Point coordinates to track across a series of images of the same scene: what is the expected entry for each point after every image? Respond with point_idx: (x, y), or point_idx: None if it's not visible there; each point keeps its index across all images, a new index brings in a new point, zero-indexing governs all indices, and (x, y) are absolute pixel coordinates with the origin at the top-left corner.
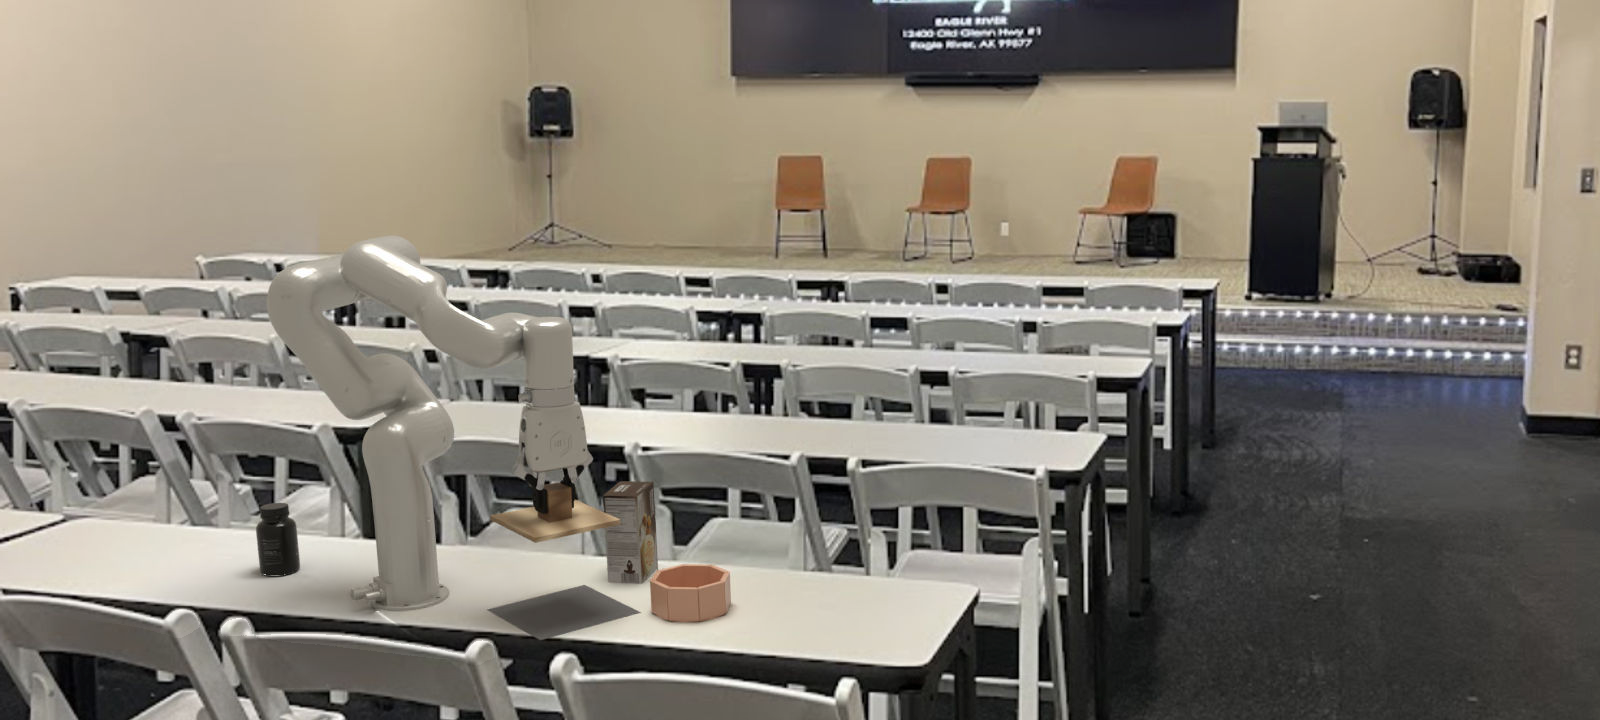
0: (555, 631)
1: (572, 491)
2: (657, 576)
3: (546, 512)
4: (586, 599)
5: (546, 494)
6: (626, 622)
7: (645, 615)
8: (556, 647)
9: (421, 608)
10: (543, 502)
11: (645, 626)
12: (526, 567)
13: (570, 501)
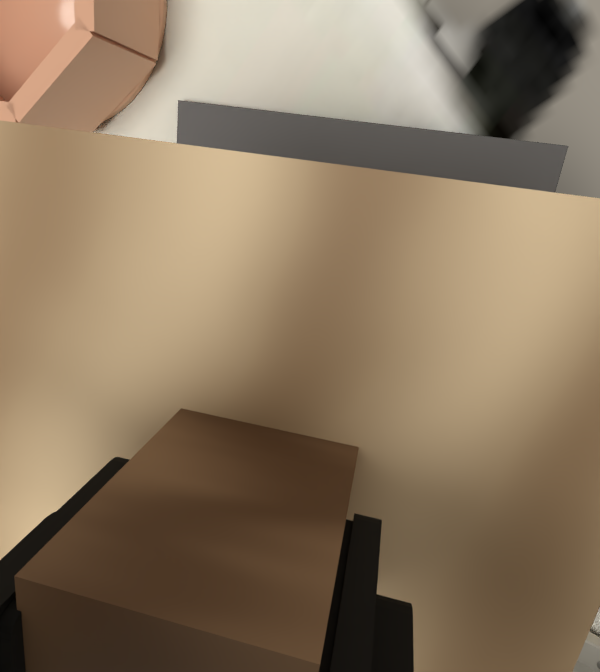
0: (475, 175)
1: (30, 550)
2: (45, 60)
3: (363, 515)
4: None
5: (335, 657)
6: (248, 90)
7: (170, 96)
8: (556, 70)
9: None
10: (372, 602)
11: (227, 2)
12: None
13: (123, 480)
